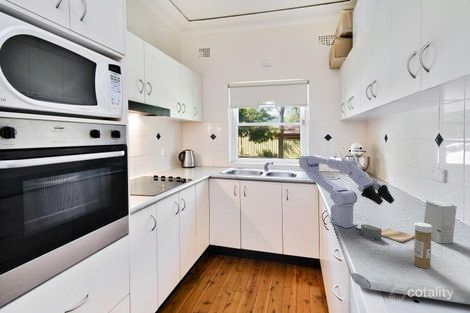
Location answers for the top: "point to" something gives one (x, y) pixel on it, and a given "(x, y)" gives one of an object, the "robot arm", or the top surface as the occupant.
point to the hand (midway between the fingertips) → (387, 202)
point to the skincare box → (440, 220)
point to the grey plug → (370, 232)
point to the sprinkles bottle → (422, 245)
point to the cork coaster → (396, 235)
